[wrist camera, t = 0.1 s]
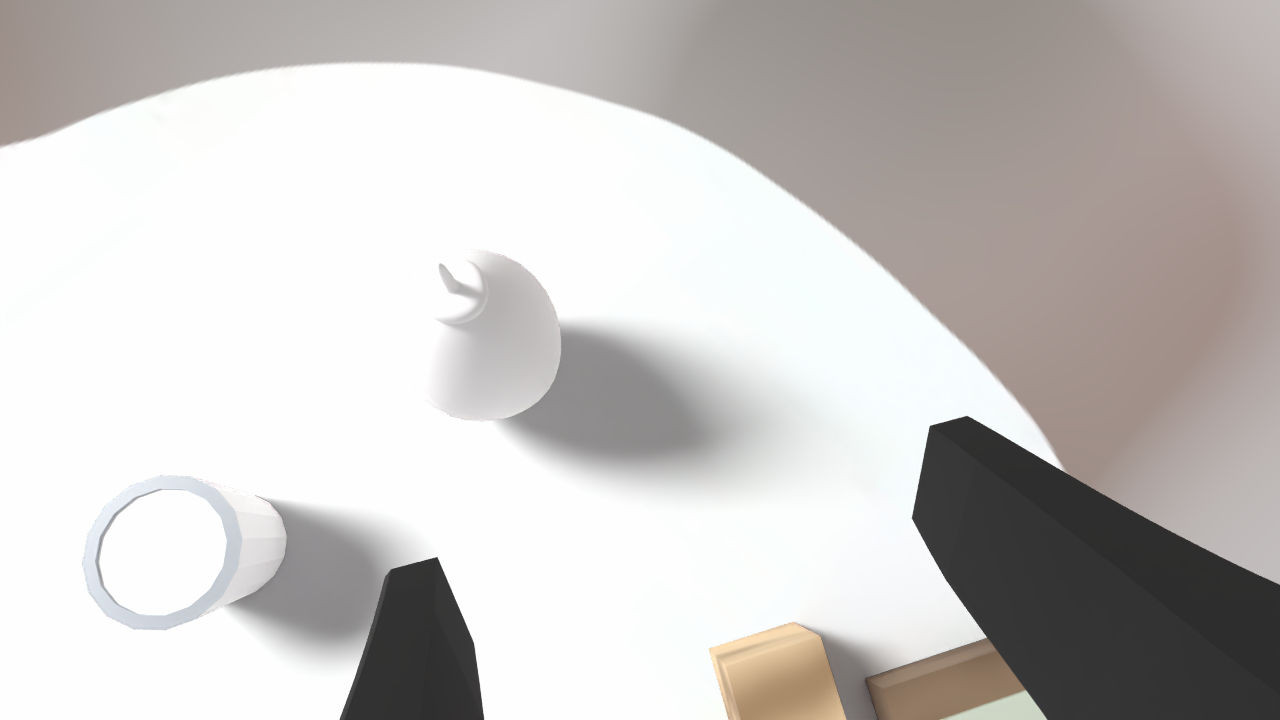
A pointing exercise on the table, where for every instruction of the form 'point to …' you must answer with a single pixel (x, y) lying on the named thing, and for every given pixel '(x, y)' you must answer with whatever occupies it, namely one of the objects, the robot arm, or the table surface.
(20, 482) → the table surface
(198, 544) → the white cup
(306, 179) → the table surface
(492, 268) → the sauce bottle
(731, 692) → the oak cube
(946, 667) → the walnut base
